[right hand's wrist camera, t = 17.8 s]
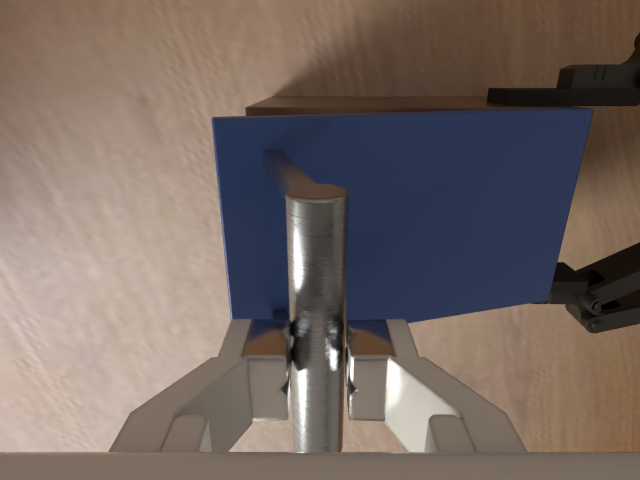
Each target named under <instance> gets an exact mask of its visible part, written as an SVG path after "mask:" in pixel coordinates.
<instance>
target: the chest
mask: <svg viewBox="0 0 640 480" xmlns="http://www.w3.org/2000/svg"><path fill="white" fill-rule="evenodd" d="M547 108H580V107H574V106H566V105H502V104H496V103H490V102H487V97H270V98H267V99H265V100H263V101H260V102H258V103H255V104H253V105H251V106H248V107H246V116H274V115H313V114H352V113H391V112H430V111H469V110H508V109H547Z"/></svg>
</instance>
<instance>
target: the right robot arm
mask: <svg viewBox="0 0 640 480" xmlns="http://www.w3.org/2000/svg"><path fill="white" fill-rule="evenodd" d="M291 338H292V328H291V320H285V319H233V320H231V322H230V324H229V327H228V330H227V333H226V335H225V338H224V341H223V344H222V346H221V349H220V352H219V354H218V357H212V358H210V359H209V360H207V361H206V362H204V363H203V364H201V365H200V366H198V367H197V368H196V369H194V370H193V371H191V372H190V373H188V374H187V375H185V376H184V377H182V378H181V379H179V380H178V381H176V382H175V383H173V384H172V385H171V386H169V387H168V388H166V389H165V390H163V391H162V392H160V393H159V394H157V395H156V396H154V397H153V398H151V399H150V400H149V401H147V402H146V403H144V404H143V405H141V406H140V407H138V408H137V409H135V410H134V411H132V412H131V413H130V415H129V416H128V418H127V420H126V422H125V423H124V425H123V427H122V429H121V431H120V432H119V434H118V436H117V438H116V439H115V441H114V443H113V445H112V446H111V448H110V450H109V452H0V480H640V452H527V450H526V448H525V447H524V445H523V443H522V441H521V439H520V437H519V436H518V434H517V432H516V430H515V428H514V427H513V425H512V423H511V421H510V419H509V417H508V416H507V414H506V413H505V412H504V411H502V410H501V409H499V408H498V407H496V406H495V405H493V404H492V403H491V402H489V401H488V400H486V399H485V398H483V397H482V396H480V395H479V394H478V393H476V392H475V391H473V390H472V389H470V388H469V387H467V386H466V385H464V384H463V383H462V382H460V381H459V380H457V379H456V378H454V377H453V376H451V375H450V374H449V373H447V372H446V371H444V370H443V369H441V368H440V367H438V366H437V365H436V364H434V363H433V362H431V361H430V360H428V359H427V358H425V357H419V354H418V352H417V349H416V346H415V343H414V341H413V338H412V335H411V332H410V329H409V327H408V324H407V321H406V320H405V319H404V318H403V319H377V320H346V344H347V347H346V348H345V377H346V386H347V402H348V413H349V420H365V421H385V424H386V425H387V426H388V427H389V428H390V430H391V431H392V432H393V433H394V434H395V436H396V437H397V438H398V439H399V440H400V441H401V443H402V444H403V445H404V446H405V447H406V449H407V450H408V451H409V452H228V451H229V450H230V449H231V448H232V446H233V445H234V444H235V443H236V442H237V441H238V439H239V438H240V437H241V436H242V435H243V434H244V432H245V431H246V430H247V429H248V428H249V427H250V425H251V424H252V421H272V420H288V416H289V406H290V387H291V384H292V367H293V360H292V348H291Z"/></svg>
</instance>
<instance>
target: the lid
mask: <svg viewBox="0 0 640 480" xmlns="http://www.w3.org/2000/svg"><path fill="white" fill-rule="evenodd" d="M592 114H593V109H590V108H547V109H508V110H469V111H430V112H391V113H352V114H313V115H274V116H235V117H213V118H212V129H213V139H214V149H215V160H216V170H217V181H218V191H219V201H220V212H221V222H222V233H223V243H224V253H225V264H226V274H227V285H228V295H229V305H230V316H231V320H233V319H285V320H291V328H292V338H291V348H292V360H293V367H292V384H291V391H292V404H293V434H294V449H295V452H341V450H342V445H343V408H344V372H345V335H346V320H377V319H403V318H404V319H405V320H406V321H407V323H412V322H418V321H424V320H430V319H436V318H442V317H449V316H455V315H461V314H467V313H473V312H479V311H485V310H491V309H497V308H503V307H510V306H516V305H522V304H528V303H534V302H540V301H546V300H548V299H549V294H550V290H551V286H552V282H553V278H554V273H555V269H556V265H557V261H558V257H559V253H560V248H561V244H562V240H563V236H564V232H565V227H566V223H567V219H568V215H569V211H570V206H571V202H572V198H573V194H574V190H575V186H576V181H577V177H578V173H579V169H580V165H581V160H582V156H583V152H584V148H585V144H586V140H587V135H588V131H589V127H590V123H591V119H592Z"/></svg>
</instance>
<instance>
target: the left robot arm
mask: <svg viewBox="0 0 640 480" xmlns="http://www.w3.org/2000/svg"><path fill="white" fill-rule="evenodd" d="M634 47H635V51H634V52H633V54H632V55H631V57H630V58H629V59H628V60H627V61H626V62H624V63H622V64H620V65H570V66H567V67H565V68H562V69H560V73H559V78H558V83H557V88H489V90H488V97H487V102H490V103H496V104H502V105H566V106H638V104H639V105H640V33H639V34H638V35H637V37H636V39H635V42H634ZM531 304H566V306H565V307H566V310H567V311H568V312H569V313H570V314H571V315H572V316H573V317H574V318H575V319H576V320H577V321H578V322H579V323H580V324H581V325H582V326H583V327H584V328H586V329H587V330H588V331H589V332H590V333H599V332H603V331H608V330H613V329H617V328H622V327H626V326H631V325H636V324H640V243H637V244H635V245H633V246H631V247H628V248H626V249H624V250H622V251H619V252H617V253H615V254H613V255H610V256H608V257H606V258H604V259H601V260H599V261H597V262H595V263H592V264H590V265H588V266H586V267H584V268H581V269H579V270H577V271H574V270H573V269H572V268H570V267H569V266H568V265H567V264H565V263H564V262H557V265H556V269H555V273H554V278H553V282H552V286H551V290H550V294H549V299H548V300H546V301H540V302H534V303H531Z"/></svg>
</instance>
